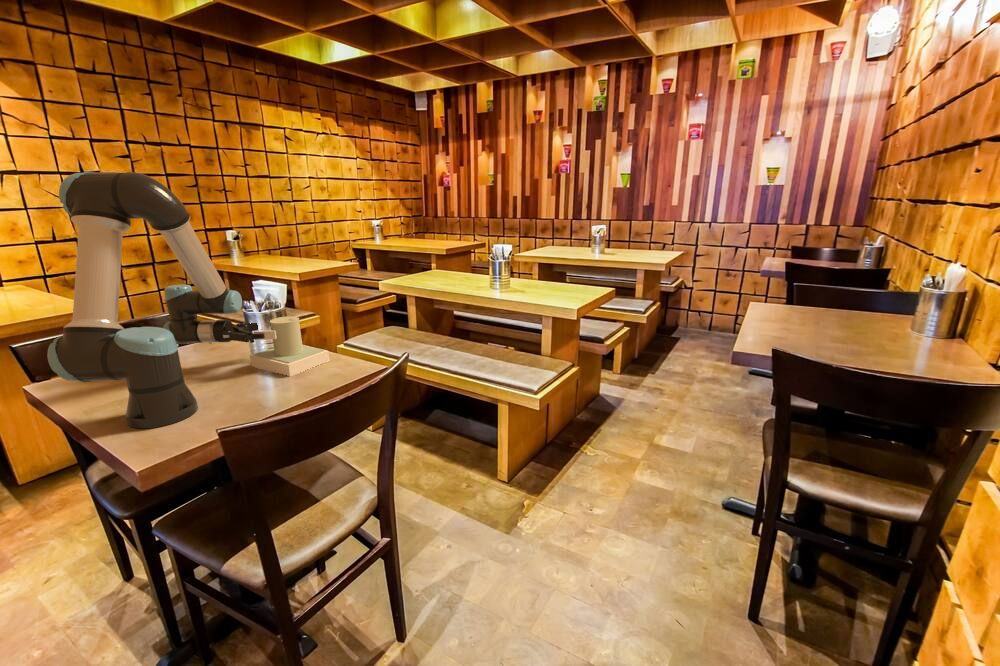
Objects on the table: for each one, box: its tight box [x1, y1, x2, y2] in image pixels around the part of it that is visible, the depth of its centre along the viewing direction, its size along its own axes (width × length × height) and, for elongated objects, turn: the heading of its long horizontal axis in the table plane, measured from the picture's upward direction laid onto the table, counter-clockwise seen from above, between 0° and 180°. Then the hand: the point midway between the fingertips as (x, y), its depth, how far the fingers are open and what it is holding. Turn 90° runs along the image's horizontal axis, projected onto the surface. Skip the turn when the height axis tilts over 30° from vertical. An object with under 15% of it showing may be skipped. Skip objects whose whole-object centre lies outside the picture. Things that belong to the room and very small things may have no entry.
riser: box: [249, 345, 331, 377], centre depth 155 cm, size 20×16×4 cm
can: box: [269, 315, 304, 356], centre depth 153 cm, size 9×9×12 cm
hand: (283, 329), depth 152 cm, fingers open, 13 cm apart
